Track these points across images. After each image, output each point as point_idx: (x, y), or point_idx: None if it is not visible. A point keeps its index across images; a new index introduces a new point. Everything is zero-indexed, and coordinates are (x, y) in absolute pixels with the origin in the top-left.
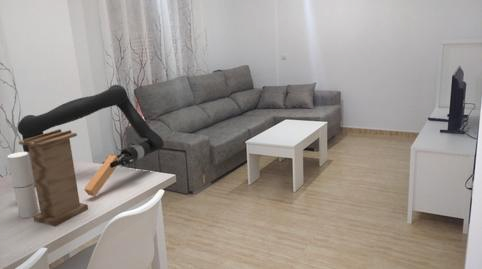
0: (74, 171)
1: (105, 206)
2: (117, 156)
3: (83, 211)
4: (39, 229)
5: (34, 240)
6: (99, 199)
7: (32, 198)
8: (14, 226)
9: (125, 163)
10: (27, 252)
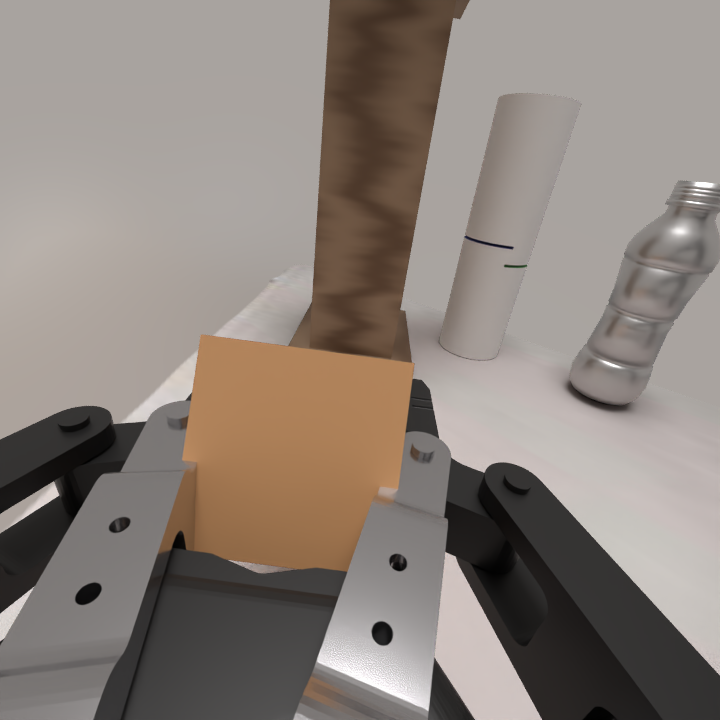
0: (319, 178)
1: None
2: (329, 635)
3: None
4: None
5: None
6: None
7: (453, 287)
8: (423, 312)
9: (17, 541)
10: (292, 273)
